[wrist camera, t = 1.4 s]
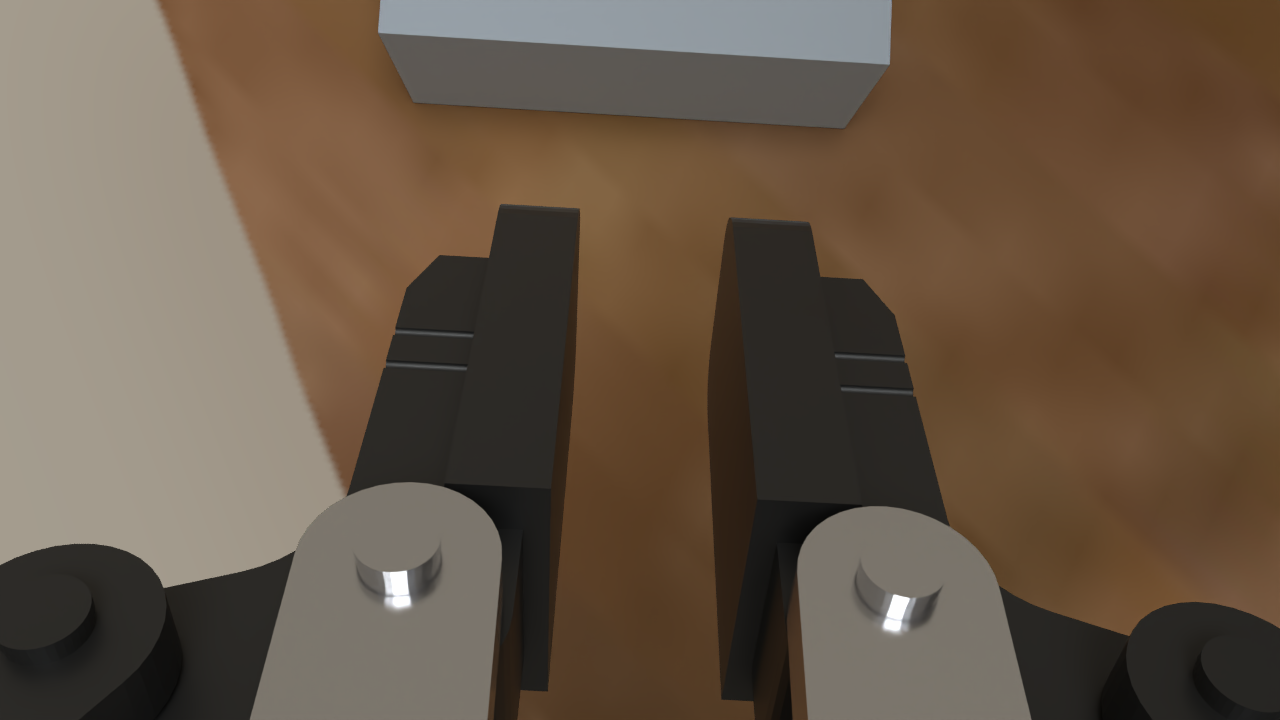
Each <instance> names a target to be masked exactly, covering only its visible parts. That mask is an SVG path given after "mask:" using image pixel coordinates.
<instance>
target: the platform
mask: <svg viewBox="0 0 1280 720" xmlns="http://www.w3.org/2000/svg"><path fill="white" fill-rule="evenodd" d="M891 8H892V0H381V1H380V15H379V28H378V34H379V36H380V38H381V40H382V41H383V43H384V45H385V47H386V49H387V51H388V53H389V55H390V57H391V59H392V61H393V63H394V65H395V67H396V69H397V71H398V73H399V75H400V77H401V79H402V81H403V83H404V85H405V87H406V89H407V91H408V93H409V94H410V96H411V98H412V100H413V102H414V103H428V104H444V105H461V106H477V107H494V108H510V109H527V110H544V111H560V112H577V113H593V114H610V115H626V116H643V117H659V118H676V119H692V120H709V121H726V122H742V123H759V124H775V125H792V126H808V127H825V128H841V129H844V128H845V127H846V125H847V124H848V123H849V121H850V120H851V118H852V117H853V116H854V114H855V113H856V111H857V110H858V109H859V107H860V106H861V104H862V103H863V101H864V100H865V99H866V97H867V96H868V94H869V93H870V92H871V90H872V89H873V87H874V86H875V85H876V83H877V82H878V80H879V79H880V78H881V76H882V75H883V73H884V72H885V71H886V69H887V68H888V66H889V65H890V40H891Z"/></svg>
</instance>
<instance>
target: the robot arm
mask: <svg viewBox="0 0 1280 720" xmlns="http://www.w3.org/2000/svg"><path fill="white" fill-rule="evenodd" d="M579 235H580V209H577V208H560V207H543V206H526V205H508V204H501V205H500V207H499V211H498V216H497V221H496V226H495V231H494V236H493V241H492V246H491V251H490V256H489V258H480V257H462V256H445V255H439V256H438V257H437V258H436V259H435V260H434V261H433V262H432V263H431V264H430V265H429V266H428V267H427V268H426V269H425V270H424V271H423V272H422V273H421V274H420V275H419V276H418V277H417V278H416V279H415V280H414V281H413V282H412V283H411V284H410V285H409V286H408V287H407V289H406V292H405V296H404V299H403V303H402V306H401V310H400V313H399V317H398V320H397V324H396V327H395V328H396V331H395V335H393V338H392V341H391V345H390V348H389V352H388V355H387V359H386V368H384V369H383V373H382V376H381V380H380V383H379V387H378V390H377V394H376V397H375V401H374V404H373V408H372V411H371V415H370V418H369V422H368V425H367V429H366V432H365V436H364V439H363V443H362V446H361V450H360V453H359V457H358V460H357V464H356V467H355V471H354V474H353V478H352V481H351V485H350V488H349V491H348V494H347V496H346V497H345V498H343V499H342V500H340V501H338V502H336V503H335V504H333V505H331V506H330V507H329V508H327V509H326V510H325V511H324V512H323V513H321V514H320V515H319V516H318V517H317V518H316V519H315V520H314V521H313V522H312V523H311V525H310V526H309V527H308V528H307V530H306V531H305V533H304V534H303V536H302V537H301V539H300V541H299V544H298V546H297V549H296V551H294V552H292V553H290V554H288V555H287V556H285V557H283V558H281V559H279V560H276V561H274V562H271V563H268V564H266V565H264V566H261V567H257V568H254V569H250V570H246V571H242V572H238V573H234V574H229V575H224V576H220V577H215V578H210V579H205V580H200V581H196V582H192V583H186V584H182V585H177V586H172V587H168V588H163V586H162V584H161V581H160V579H159V577H158V576H157V575H156V573H155V572H154V571H153V569H152V568H151V567H150V566H149V565H147V564H146V563H145V562H144V561H143V560H141V559H140V558H138V557H136V556H135V555H133V554H131V553H129V552H127V551H123V550H120V549H117V548H114V547H110V546H104V545H97V544H70V545H62V546H54V547H50V548H46V549H41V550H37V551H34V552H31V553H28V554H25V555H23V556H20V557H17V558H14V559H12V560H10V561H8V562H6V563H4V564H2V565H0V720H517V716H518V707H519V698H520V690H530V691H548V682H549V670H550V659H551V647H552V636H553V624H554V613H555V601H556V590H557V578H558V566H559V555H560V543H561V532H562V520H563V509H564V497H565V486H566V474H567V462H568V451H569V439H570V428H571V416H572V404H573V390H574V374H575V355H576V328H577V297H578V266H579ZM904 358H905V354H904V350H903V346H902V342H901V338H900V334H899V330H898V327H897V323H896V319H895V315H894V314H893V313H892V312H891V311H890V310H889V308H888V307H887V306H886V305H885V304H884V303H883V302H882V301H881V299H880V298H879V297H878V296H877V295H876V294H875V293H874V291H873V290H872V289H871V288H870V287H869V286H868V285H867V283H866V282H865V281H864V280H863V279H848V278H830V277H820V273H819V267H818V262H817V256H816V251H815V246H814V240H813V235H812V230H811V226H810V224H809V223H808V222H799V221H782V220H765V219H747V218H729V220H728V223H727V228H726V233H725V240H724V247H723V255H722V263H721V271H720V279H719V286H718V294H717V302H716V310H715V318H714V326H713V334H712V341H711V350H710V360H709V374H708V432H709V452H710V473H711V494H712V514H713V535H714V556H715V577H716V597H717V618H718V639H719V659H720V680H721V700H742V701H754V713H755V720H1280V629H1279V628H1278V627H1276V626H1274V625H1273V624H1271V623H1269V622H1267V621H1265V620H1263V619H1260V618H1258V617H1256V616H1254V615H1252V614H1249V613H1246V612H1243V611H1240V610H1237V609H1235V608H1231V607H1227V606H1222V605H1217V604H1211V603H1201V602H1188V603H1177V604H1172V605H1168V606H1164V607H1162V608H1159V609H1157V610H1155V611H1152V612H1151V613H1150V614H1148V615H1147V616H1145V617H1144V618H1143V619H1141V621H1140V622H1139V623H1138V624H1137V626H1136V627H1135V628H1134V629H1133V631H1132V633H1131V635H1130V636H1127V635H1123V634H1120V633H1117V632H1114V631H1111V630H1107V629H1104V628H1101V627H1098V626H1095V625H1092V624H1088V623H1085V622H1082V621H1079V620H1076V619H1072V618H1069V617H1066V616H1063V615H1060V614H1057V613H1053V612H1051V611H1048V610H1045V609H1042V608H1040V607H1037V606H1034V605H1032V604H1030V603H1028V602H1026V601H1024V600H1022V599H1020V598H1018V597H1016V596H1014V595H1012V594H1011V593H1009V592H1008V591H1006V590H1005V589H1003V588H1001V587H1000V586H998V583H997V580H996V577H995V574H994V573H993V571H992V569H991V567H990V566H989V564H988V562H987V561H986V559H985V558H984V557H983V556H982V554H981V553H980V552H979V551H978V549H977V548H976V547H974V546H973V545H972V544H971V543H970V542H969V541H968V540H967V539H966V538H965V537H963V536H962V535H961V534H959V533H958V532H956V531H955V530H953V529H952V528H951V527H950V525H949V523H948V520H947V516H946V512H945V508H944V504H943V500H942V497H941V493H940V489H939V485H938V481H937V477H936V473H935V470H934V466H933V462H932V458H931V454H930V450H929V446H928V442H927V439H926V435H925V431H924V427H923V423H922V419H921V415H920V412H919V408H918V404H917V400H916V397H913V389H914V388H913V385H912V381H911V377H910V373H909V369H908V365H907V363H904Z"/></svg>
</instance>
